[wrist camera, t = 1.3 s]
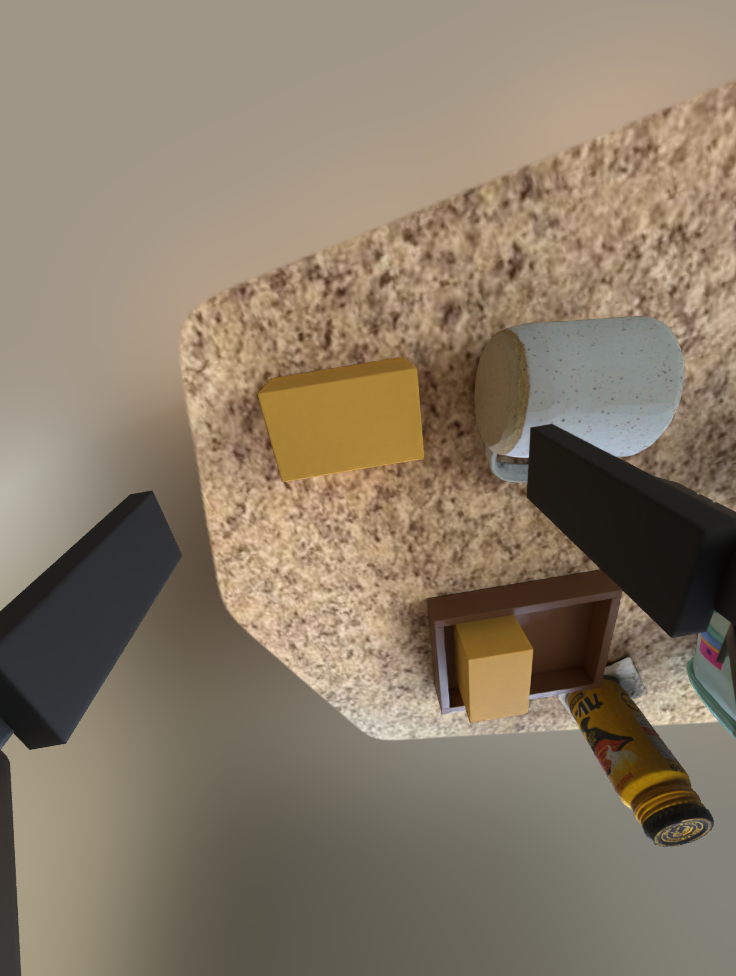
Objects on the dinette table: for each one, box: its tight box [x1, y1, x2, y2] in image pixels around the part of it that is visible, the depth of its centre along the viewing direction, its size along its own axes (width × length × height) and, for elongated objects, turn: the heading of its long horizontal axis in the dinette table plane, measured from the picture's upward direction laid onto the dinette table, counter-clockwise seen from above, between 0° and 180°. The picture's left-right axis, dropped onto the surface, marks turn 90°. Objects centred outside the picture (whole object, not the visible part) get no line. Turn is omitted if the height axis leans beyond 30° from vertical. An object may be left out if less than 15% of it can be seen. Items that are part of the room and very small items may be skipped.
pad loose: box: [258, 357, 424, 482], centre depth 22 cm, size 8×5×4 cm, turn 98°
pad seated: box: [453, 615, 533, 723], centre depth 32 cm, size 8×5×4 cm, turn 8°
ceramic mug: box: [474, 316, 684, 483], centre depth 21 cm, size 11×8×8 cm
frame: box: [427, 570, 623, 714], centre depth 34 cm, size 13×16×3 cm
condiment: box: [556, 656, 714, 847], centre depth 35 cm, size 7×8×12 cm
